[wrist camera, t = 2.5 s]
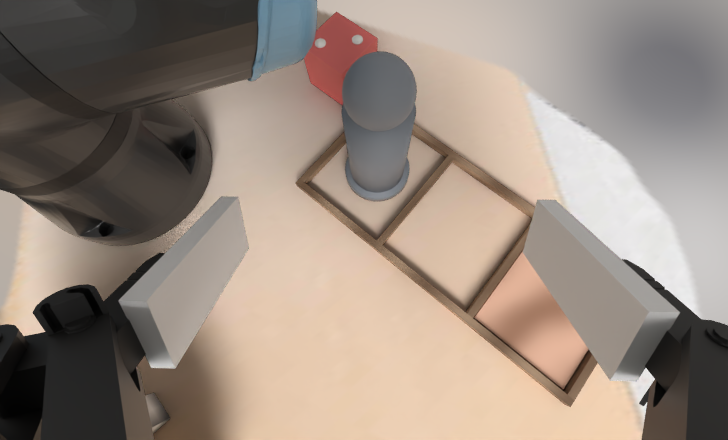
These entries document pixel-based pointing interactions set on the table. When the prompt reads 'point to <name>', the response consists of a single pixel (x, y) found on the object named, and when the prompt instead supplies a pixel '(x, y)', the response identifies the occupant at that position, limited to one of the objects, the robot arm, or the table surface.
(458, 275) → the table surface
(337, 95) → the red die
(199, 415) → the table surface
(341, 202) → the table surface
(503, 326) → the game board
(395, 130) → the pawn
